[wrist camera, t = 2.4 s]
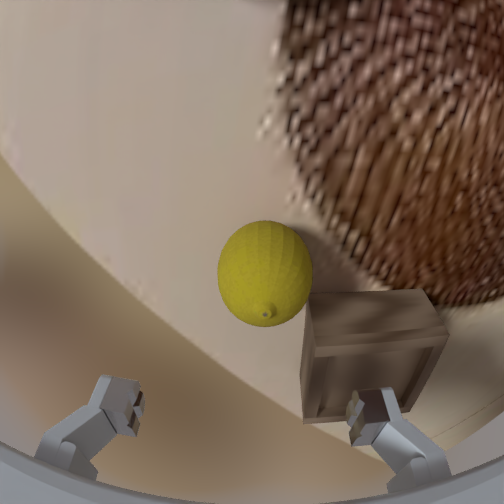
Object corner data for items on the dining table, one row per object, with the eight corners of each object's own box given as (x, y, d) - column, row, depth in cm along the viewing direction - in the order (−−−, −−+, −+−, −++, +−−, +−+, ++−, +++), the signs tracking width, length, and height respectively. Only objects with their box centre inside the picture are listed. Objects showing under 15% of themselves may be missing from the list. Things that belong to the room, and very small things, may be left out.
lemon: (298, 276, 23) (309, 356, 16) (224, 269, 23) (207, 348, 16) (311, 207, 21) (333, 272, 14) (228, 198, 21) (207, 259, 14)
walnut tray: (421, 287, 24) (449, 334, 19) (394, 365, 29) (409, 411, 23) (307, 291, 24) (315, 346, 19) (299, 372, 29) (303, 423, 24)
